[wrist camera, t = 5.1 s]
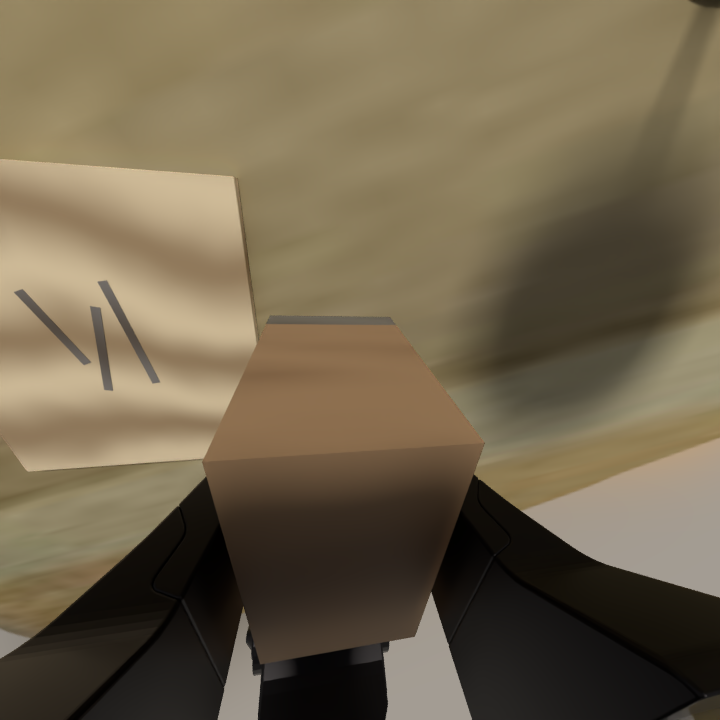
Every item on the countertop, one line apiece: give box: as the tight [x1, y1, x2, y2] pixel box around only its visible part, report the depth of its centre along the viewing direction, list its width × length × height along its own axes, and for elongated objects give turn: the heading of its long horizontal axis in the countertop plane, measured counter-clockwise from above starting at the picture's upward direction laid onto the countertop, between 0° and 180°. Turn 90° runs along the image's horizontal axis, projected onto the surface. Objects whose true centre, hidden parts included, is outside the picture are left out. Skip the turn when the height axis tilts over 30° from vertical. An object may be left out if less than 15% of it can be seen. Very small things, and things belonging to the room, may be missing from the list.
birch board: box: [0, 159, 259, 471], centre depth 18 cm, size 20×18×1 cm
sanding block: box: [202, 316, 485, 664], centre depth 8 cm, size 7×4×6 cm, turn 177°
